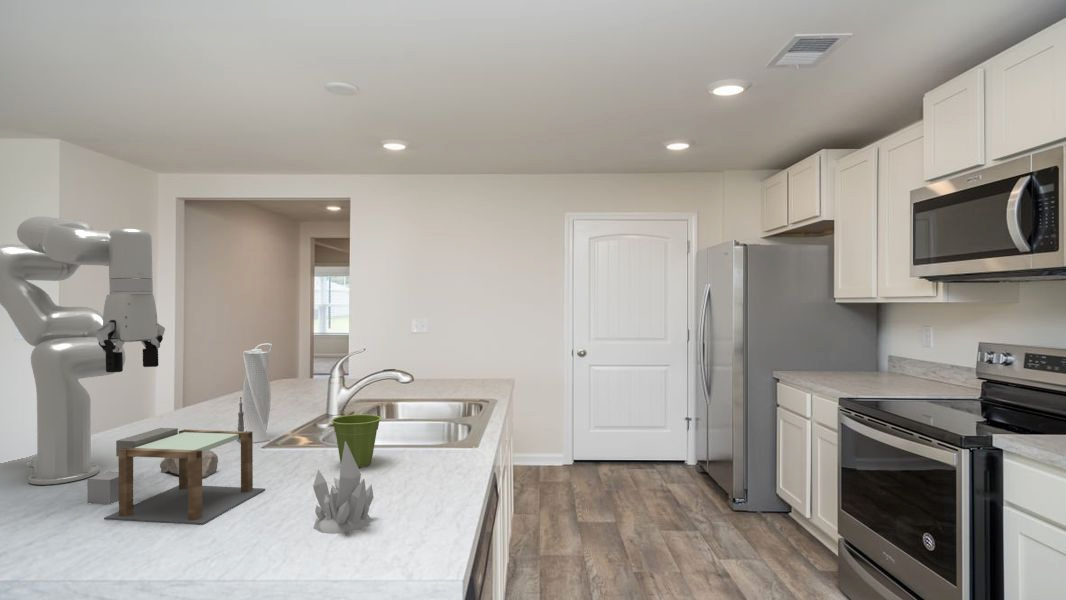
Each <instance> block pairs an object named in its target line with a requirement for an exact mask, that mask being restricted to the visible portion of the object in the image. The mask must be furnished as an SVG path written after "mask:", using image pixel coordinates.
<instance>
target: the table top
mask: <svg viewBox="0 0 1066 600" xmlns="http://www.w3.org/2000/svg"><path fill="white" fill-rule="evenodd" d="M264 491H266V488H264V487H262V488H260V487H253V490H251V491H250V492H241V486H240V487H239V486H237V487H236V486H216V485H214V486H213V485H202V517H201V518H199V519H197V520H188V489H179V484H178V485H176V486H173V487H171V488H169V489H166V490H164V491H162V492H160V493H158V494H155V495H153V496H150V497H148V498H146V499H143V500H141V501H139V502H136V503H133V508H134V513H133V514H130V515H128V516H119V510H118V511H117V512H116V511H115V512H114V513H111V514H109V515H107V516H105V517H103V519H104V520H110V521H111V520H112V521H114V520H115V521H131V522H148V523H149V522H150V523H166V524H167V523H168V524H182V523H183V524H185V525H200V524H201V525H202V524H203V525H206V524H207V523H208V521H209V522H210V520H211V521H212V520H214V519H216V518H217V516H218V517H220V516H222V515H223V514H225V513H227V512H229V511H230V510H232V509H234V508H236V507H238V506H240V505H241V504H243V503H245V502H247V501H249V500H250V499H252V498H254V497H256V496H257V495H259V494H261V493H262V492H264ZM235 506H236V507H235ZM233 507H234V508H233ZM231 508H232V509H231ZM229 509H230V510H229ZM228 510H229V511H228ZM226 511H227V512H226ZM224 512H225V513H224ZM222 513H223V514H222ZM219 515H220V516H219ZM215 517H216V518H215ZM201 525H200V526H201Z"/></svg>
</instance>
